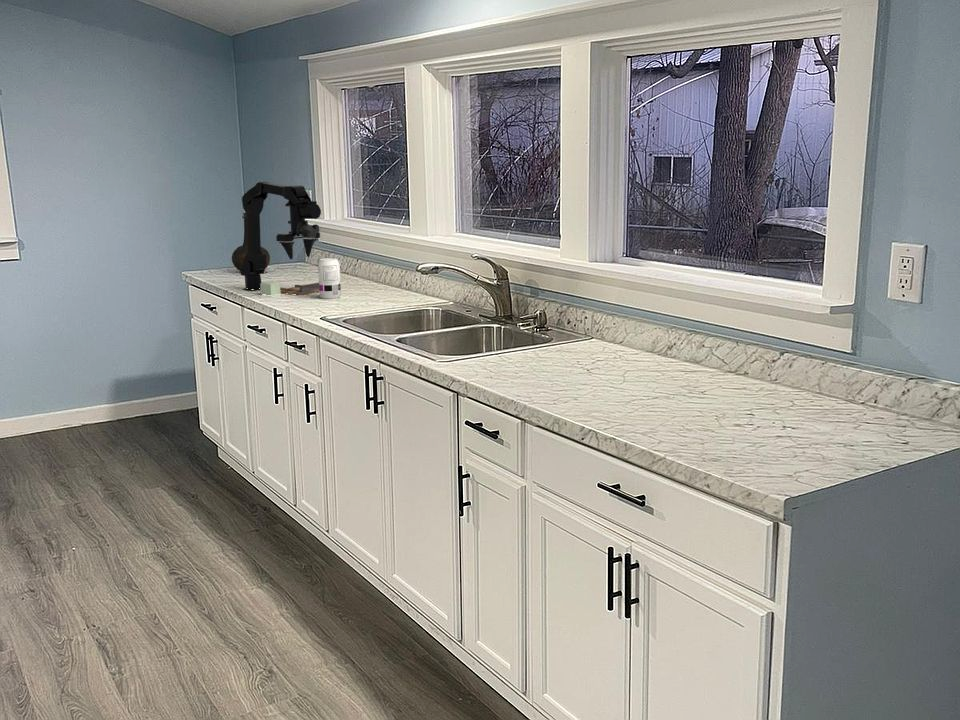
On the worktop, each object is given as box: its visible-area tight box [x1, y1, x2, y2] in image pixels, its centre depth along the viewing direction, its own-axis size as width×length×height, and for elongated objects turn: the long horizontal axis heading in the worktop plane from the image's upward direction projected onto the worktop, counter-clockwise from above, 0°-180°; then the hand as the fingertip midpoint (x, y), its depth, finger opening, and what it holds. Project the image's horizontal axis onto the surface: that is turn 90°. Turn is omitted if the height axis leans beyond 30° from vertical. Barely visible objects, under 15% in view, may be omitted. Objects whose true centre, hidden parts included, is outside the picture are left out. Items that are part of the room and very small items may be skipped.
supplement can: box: [317, 257, 342, 300], centre depth 368 cm, size 8×8×15 cm
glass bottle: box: [231, 212, 271, 271], centre depth 448 cm, size 18×18×28 cm
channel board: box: [280, 282, 320, 296], centre depth 384 cm, size 14×13×4 cm
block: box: [259, 281, 282, 295], centre depth 378 cm, size 6×5×5 cm
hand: (299, 257), depth 375 cm, fingers open, 9 cm apart
